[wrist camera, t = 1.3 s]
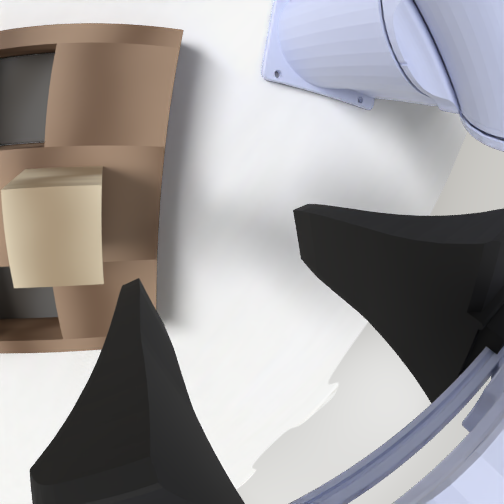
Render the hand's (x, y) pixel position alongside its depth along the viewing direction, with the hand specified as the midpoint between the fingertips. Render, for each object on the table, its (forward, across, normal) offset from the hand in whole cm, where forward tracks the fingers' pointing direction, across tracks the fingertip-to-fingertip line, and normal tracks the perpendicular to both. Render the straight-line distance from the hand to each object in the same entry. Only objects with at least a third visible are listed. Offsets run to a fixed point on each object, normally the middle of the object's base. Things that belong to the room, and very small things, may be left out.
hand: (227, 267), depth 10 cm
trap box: (+9, +9, -4) cm, 13 cm away
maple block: (+7, +6, -2) cm, 9 cm away
